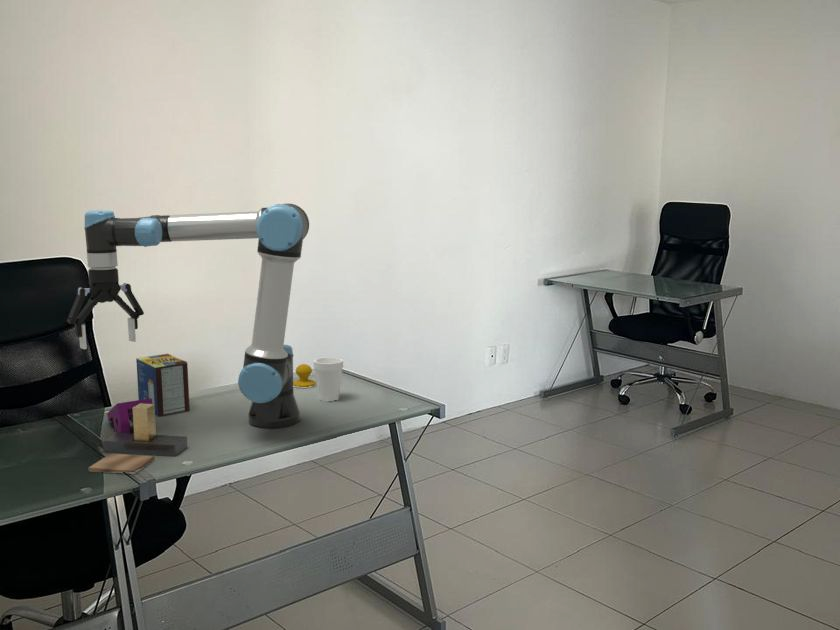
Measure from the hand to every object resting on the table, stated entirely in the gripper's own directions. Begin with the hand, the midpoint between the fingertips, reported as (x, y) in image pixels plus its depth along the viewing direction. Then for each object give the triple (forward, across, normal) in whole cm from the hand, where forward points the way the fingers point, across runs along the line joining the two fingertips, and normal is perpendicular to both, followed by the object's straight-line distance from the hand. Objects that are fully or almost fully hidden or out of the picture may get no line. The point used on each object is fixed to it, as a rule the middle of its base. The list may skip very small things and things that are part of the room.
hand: (108, 344), depth 213 cm
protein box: (+26, -21, -14) cm, 36 cm away
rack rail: (+26, 0, +18) cm, 32 cm away
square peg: (+26, 0, +18) cm, 32 cm away
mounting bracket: (+26, -6, -3) cm, 27 cm away
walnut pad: (+26, +9, +26) cm, 37 cm away
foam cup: (+26, -65, +13) cm, 72 cm away
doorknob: (+26, -70, -6) cm, 75 cm away
